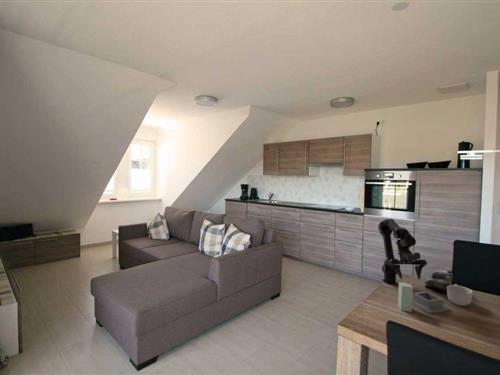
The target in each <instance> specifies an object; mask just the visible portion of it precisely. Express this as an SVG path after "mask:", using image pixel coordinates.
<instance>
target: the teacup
mask: <svg viewBox="0 0 500 375" xmlns="http://www.w3.org/2000/svg"><path fill="white" fill-rule="evenodd" d="M446 294H447V298H448V300H449V301H450V302H451V303H452V304H454V305H456V306H462V307H465V306H466V307H467V306H468V305H470V304H471V303H472V301H473V290H472V289H470V288H468V287H466V286H463V285H458V284H456V283H455V284H450V285H449V286H447V291H446Z"/></svg>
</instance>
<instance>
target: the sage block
mask: <svg viewBox="0 0 500 375" xmlns="http://www.w3.org/2000/svg"><path fill="white" fill-rule="evenodd" d="M397 292H398V297H397V307H398V308H399V311H401V312H410V313H412V312H413V310H412V309H413V304H412V298H413V293H414V287H413V286H412V284H411V283H410V282H405V281H404V282H403V281H399V282H398V291H397Z"/></svg>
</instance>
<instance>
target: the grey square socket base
mask: <svg viewBox="0 0 500 375" xmlns="http://www.w3.org/2000/svg"><path fill="white" fill-rule="evenodd" d="M412 306H415V307H417V308H418V309H420V310H422V311H423V312H425V313H427V314H429V315H431V314H437V313H444V312H449V311H451V310H452V309H451V307H449V306H447V305H445V304H444V299H443V298H442V297H440V296H438V295H436V294H434V293H432V292H429V291H419V292H413V296H412Z"/></svg>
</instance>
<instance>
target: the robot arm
mask: <svg viewBox="0 0 500 375" xmlns="http://www.w3.org/2000/svg"><path fill="white" fill-rule="evenodd" d="M377 226H378V227H377V230H378V231H379V234H380V235H381V236H382V239H383V246H384V254H385V259H384V261H383V265H382V266H381V272H382V273H383V278H382V279H381V281H382V282H384V281H385V282H384V283H386V284H387V285H394V284H398V282H397V276H398V277H399V279H400V280H403V275H402V271H401V265H412V266H414V270H415V274H416V277H417V280H421V276H422V270H423V268H425V267H426V266H428V262H427V260H426V259H422V258H421V252H414V253H413V252H412V250H411V249H410V248H412V247H413V246H415V245H416V244H417V240H416V239H415V237H414V236H413V235H412V234H411V233H410V231H409V230H408V229H407V228H405V227H403V226H400V225H399V224H398V223H397V222H395V219H392V218H385V219H384V220H382V221H381V222H379V223H378V225H377ZM391 235H392V236H393V238H395V239H397V240H396V242H395V244H396V246H397V255H398V256H399V259H398V258H395V254H394V249H393V242H392V236H391ZM396 275H397V276H396Z"/></svg>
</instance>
